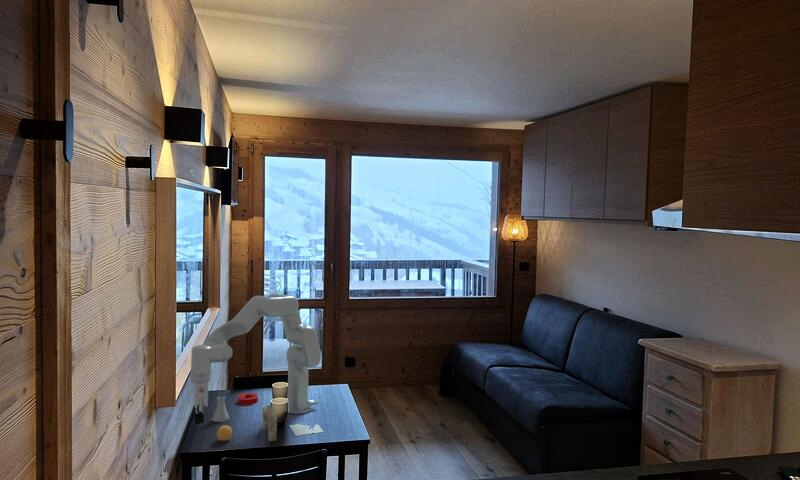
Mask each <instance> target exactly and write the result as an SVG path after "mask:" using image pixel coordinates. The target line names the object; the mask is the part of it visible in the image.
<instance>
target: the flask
mask: <svg viewBox="0 0 800 480" xmlns="http://www.w3.org/2000/svg"><path fill="white" fill-rule="evenodd" d="M216 399H217V405H216V408H215V411H214V414H213V417H212V419H211V421H212V422H215V423H225V422H226V421H228V420H230V416H229V413H228V410H227V408H226V403H225V399H226V397H225V396H218V397H217V398H216Z"/></svg>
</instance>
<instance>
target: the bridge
mask: <svg viewBox="0 0 800 480" xmlns="http://www.w3.org/2000/svg"><path fill="white" fill-rule="evenodd" d="M261 426H262V430H264V431H266V430H267V434H268V436H267V440H268V442H275V441H277V437H278V436H277V432H278V429H277V427H278V416H277V415H276V413H275V412H274V410H273V408H272V406H271V405H270V404H269V405H262V425H261Z"/></svg>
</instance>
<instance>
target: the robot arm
mask: <svg viewBox="0 0 800 480" xmlns="http://www.w3.org/2000/svg"><path fill="white" fill-rule="evenodd" d="M298 300H299V299H297V297H295V296H293V295H288V294H287V295H286V294H281V293H270V294H268V295H267V296H265V295H254V296H253V297H252V298H250V299H249V300H248V301H247V303H246V304H245V305H244V306H243V307H242V308H241V309H240V310H239V312H238V313H237V314H236V315H235V316H234V317H233V318H232V319H231V320H229V321H227V322H225V323H224V324H222V325H221V326H219V327H217V328H216V329H215V330H213V331H212V332H211V333H210V335H208V337H207V338H206V339H205V340H204V342H203V343H202V344H197V345H194V346H193V347H192V349H191V359H190V363H191V364H190V382H191V383H193V391H192V392H193V393H192V394H193V405H194V408H195V412H194V424H195V425H198V424H203V423H204V420H205V419H204V417H205V412H204V409H205V407H206V408H208V406H209V382H210V381H211V380H212V379H211V378H212V364H213V363H214V364H215V363H224V362H227V361H229V360H230V359H231V358H232V357H233V353H234V352H233V348H232V347H231V346H230V345H229V344H227V343H225V342H226V341H228V340H230V339H231V338H233V337H236V336H241V335H244V334H247V333H248V332H251V329H252V328H253V327H254V326H255V325H256V324H257V322H258V321H260V319H261V318H262V317H265V318H279V317H280V318H281V319H280V320H281V323H282V326H283V332H284V334H285V339H286V341H287V342H288V343H289V344H292V345H290V346H289V347H288V348H287V350H286V361H287V371H288V373H287V374H288V377H287V402H288V401H289V411H288V412H289V413H292V414H291V415H301V414H300V413H303V414H306V413H305V412H307V413H308V411H309V410H310V409H312V406H316V405H318V400H314V399H309V369H310V368H311V369H312V368H313V369H314V368H316V367H318V365H319V364H320V362H321V357H322V353H321V347H320V342H319V337H318V333H317V331H316V330H315V328H314V327H312V326H310V325H307V324H306V325H305V324H303V322H302V318H301V314H300V312H299V307H300V304H299V301H298ZM308 368H309V369H308ZM310 411H311V410H310ZM310 411H309V412H310ZM289 413H288V414H289Z"/></svg>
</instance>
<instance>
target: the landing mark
mask: <svg viewBox="0 0 800 480" xmlns="http://www.w3.org/2000/svg"><path fill="white" fill-rule="evenodd" d="M300 424H301V425H300ZM302 424H303V423H297V424H290V425H288V426H289V428H290V429H291V430H292V432H293V433H294V435H295V436H296V437H299V436H306V435H312V433H314V434H319V433H320V434H321V433H324V430H323V428H321V426H320V425H319V424H318V423H317V424H318V425H317V424H316V425H315V426H314V428H311V429H309V427H311V426H307V425H302ZM305 426H306V427H305ZM312 429H314V430H312Z"/></svg>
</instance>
